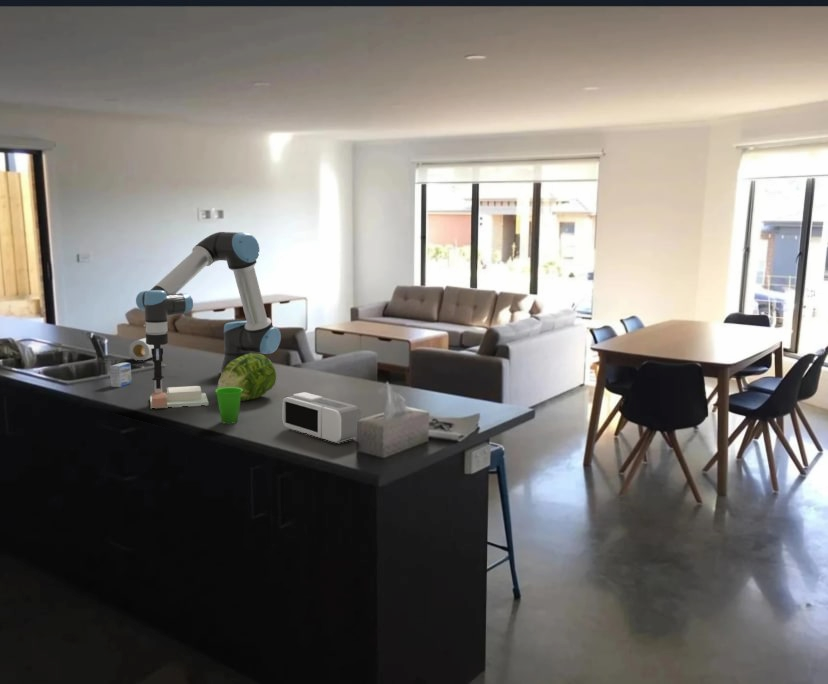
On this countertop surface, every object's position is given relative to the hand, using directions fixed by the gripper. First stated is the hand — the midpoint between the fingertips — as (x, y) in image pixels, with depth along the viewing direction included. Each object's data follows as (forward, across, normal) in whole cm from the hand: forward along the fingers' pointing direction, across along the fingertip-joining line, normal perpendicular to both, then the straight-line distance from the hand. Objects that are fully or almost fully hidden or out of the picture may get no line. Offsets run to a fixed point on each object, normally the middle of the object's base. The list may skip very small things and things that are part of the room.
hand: (158, 396), depth 269 cm
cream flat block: (+1, -3, +9) cm, 10 cm away
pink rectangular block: (+1, +5, 0) cm, 5 cm away
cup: (+3, +32, +22) cm, 39 cm away
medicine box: (+3, -35, -14) cm, 38 cm away
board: (+3, 0, +7) cm, 8 cm away
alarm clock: (+3, +54, +48) cm, 73 cm away
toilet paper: (+3, -91, -5) cm, 92 cm away
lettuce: (+3, +2, +31) cm, 31 cm away
